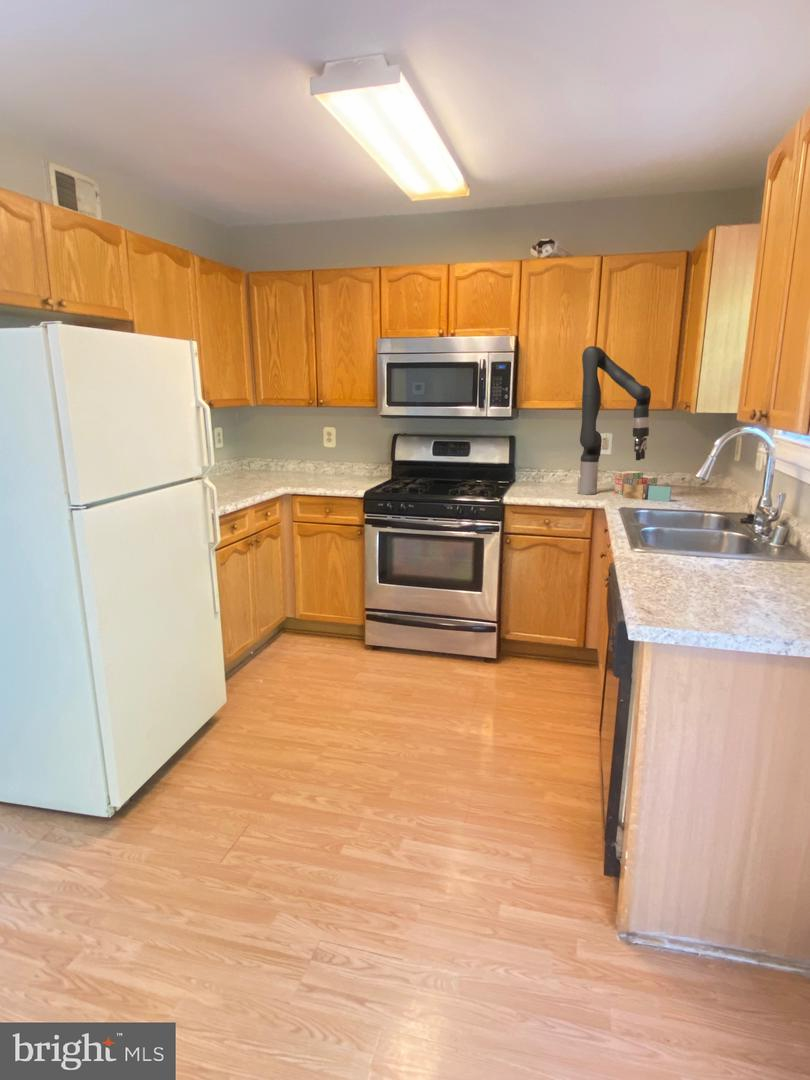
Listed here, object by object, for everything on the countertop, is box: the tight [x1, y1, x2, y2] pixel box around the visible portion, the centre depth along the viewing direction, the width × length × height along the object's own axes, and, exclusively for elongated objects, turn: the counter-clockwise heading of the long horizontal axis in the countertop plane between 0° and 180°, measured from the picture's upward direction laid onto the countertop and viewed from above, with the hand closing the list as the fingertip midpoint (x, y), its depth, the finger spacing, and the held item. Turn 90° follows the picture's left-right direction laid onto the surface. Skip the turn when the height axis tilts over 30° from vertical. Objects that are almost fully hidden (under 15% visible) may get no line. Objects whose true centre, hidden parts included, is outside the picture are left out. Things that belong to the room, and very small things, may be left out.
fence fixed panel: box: [622, 484, 649, 501], centre depth 298 cm, size 12×2×8 cm, turn 55°
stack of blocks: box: [614, 470, 658, 496], centre depth 315 cm, size 21×6×12 cm, turn 105°
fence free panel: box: [647, 485, 672, 503], centre depth 292 cm, size 10×2×7 cm, turn 55°
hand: (640, 459), depth 300 cm, fingers open, 8 cm apart
